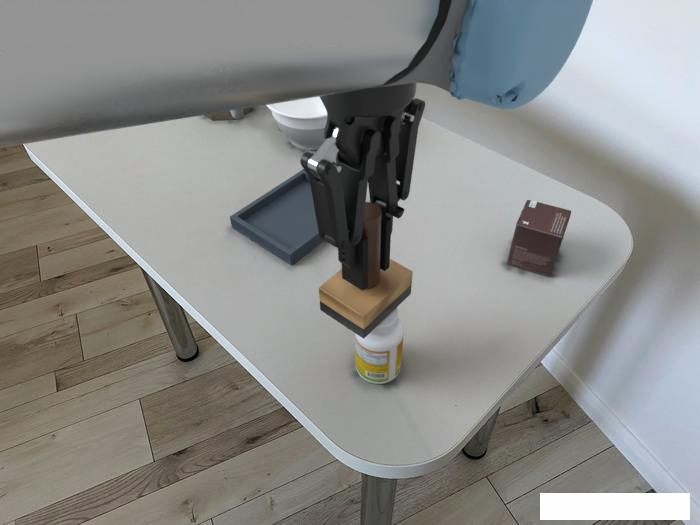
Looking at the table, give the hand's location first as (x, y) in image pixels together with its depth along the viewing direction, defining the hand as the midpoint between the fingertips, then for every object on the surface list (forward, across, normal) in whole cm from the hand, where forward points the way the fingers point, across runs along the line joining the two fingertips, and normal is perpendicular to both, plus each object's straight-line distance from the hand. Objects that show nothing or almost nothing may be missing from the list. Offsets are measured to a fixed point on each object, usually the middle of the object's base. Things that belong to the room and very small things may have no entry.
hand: (366, 272), depth 58 cm
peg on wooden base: (+5, 0, 0) cm, 5 cm away
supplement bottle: (+15, 0, +2) cm, 15 cm away
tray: (+15, -13, -24) cm, 31 cm away
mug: (+15, -27, -56) cm, 64 cm away
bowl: (+15, -31, -38) cm, 51 cm away
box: (+15, -28, +7) cm, 32 cm away
